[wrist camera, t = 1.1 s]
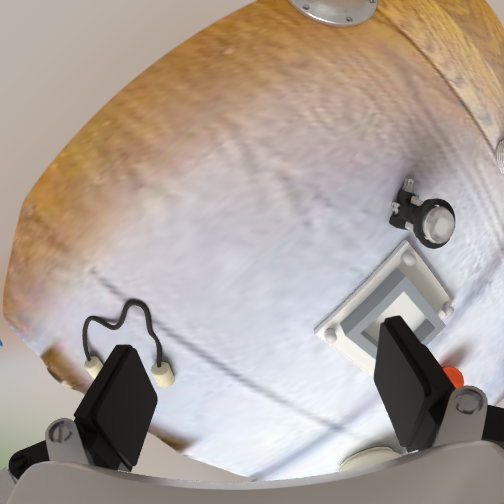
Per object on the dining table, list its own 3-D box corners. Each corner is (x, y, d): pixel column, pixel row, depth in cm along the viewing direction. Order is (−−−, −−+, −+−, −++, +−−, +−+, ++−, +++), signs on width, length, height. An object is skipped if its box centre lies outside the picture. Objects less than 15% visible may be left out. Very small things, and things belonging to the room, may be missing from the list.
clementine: (415, 385, 44) (429, 410, 38) (434, 357, 42) (452, 381, 36) (440, 387, 45) (455, 409, 38) (459, 361, 43) (476, 382, 36)
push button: (389, 173, 33) (431, 182, 23) (422, 183, 33) (467, 195, 24) (378, 223, 35) (416, 247, 25) (411, 230, 35) (452, 255, 26)
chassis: (404, 239, 35) (418, 248, 32) (451, 302, 39) (464, 314, 35) (313, 330, 40) (318, 347, 36) (374, 376, 43) (381, 391, 39)
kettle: (335, 484, 58) (347, 556, 34) (313, 463, 53) (325, 552, 29) (419, 449, 53) (447, 518, 30) (415, 420, 48) (452, 505, 25)
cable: (67, 299, 40) (56, 309, 37) (154, 297, 39) (146, 309, 36) (97, 373, 45) (90, 385, 42) (177, 378, 44) (173, 392, 41)
